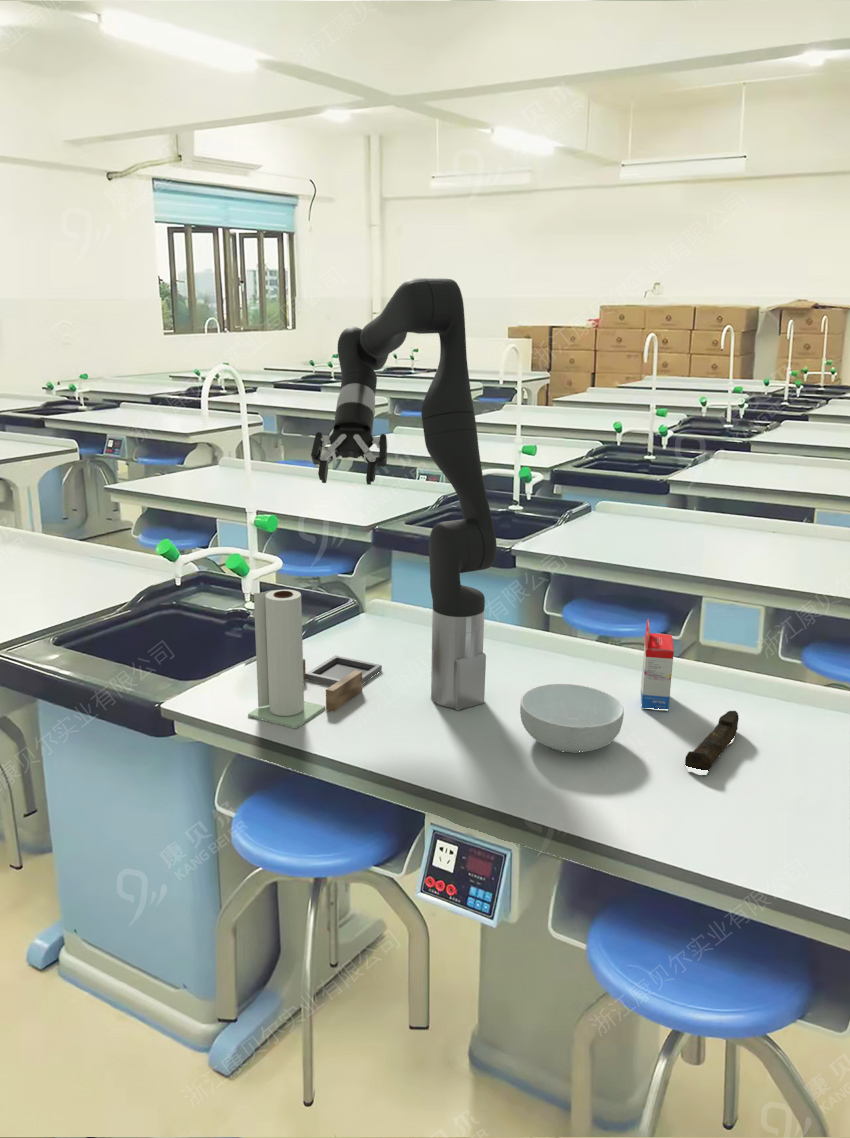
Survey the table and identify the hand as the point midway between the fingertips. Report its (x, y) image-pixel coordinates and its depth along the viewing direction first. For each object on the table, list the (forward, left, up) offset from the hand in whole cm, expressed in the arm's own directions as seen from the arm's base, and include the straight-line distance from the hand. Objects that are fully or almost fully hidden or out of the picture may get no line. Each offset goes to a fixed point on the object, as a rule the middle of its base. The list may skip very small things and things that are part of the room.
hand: (346, 481), depth 173 cm
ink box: (-45, -39, -37) cm, 70 cm away
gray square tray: (-5, +3, -37) cm, 37 cm away
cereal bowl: (-49, -15, -37) cm, 63 cm away
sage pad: (-14, +20, -37) cm, 44 cm away
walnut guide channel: (-10, +12, -37) cm, 40 cm away
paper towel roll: (-14, +20, -36) cm, 44 cm away
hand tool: (-64, -33, -37) cm, 81 cm away
